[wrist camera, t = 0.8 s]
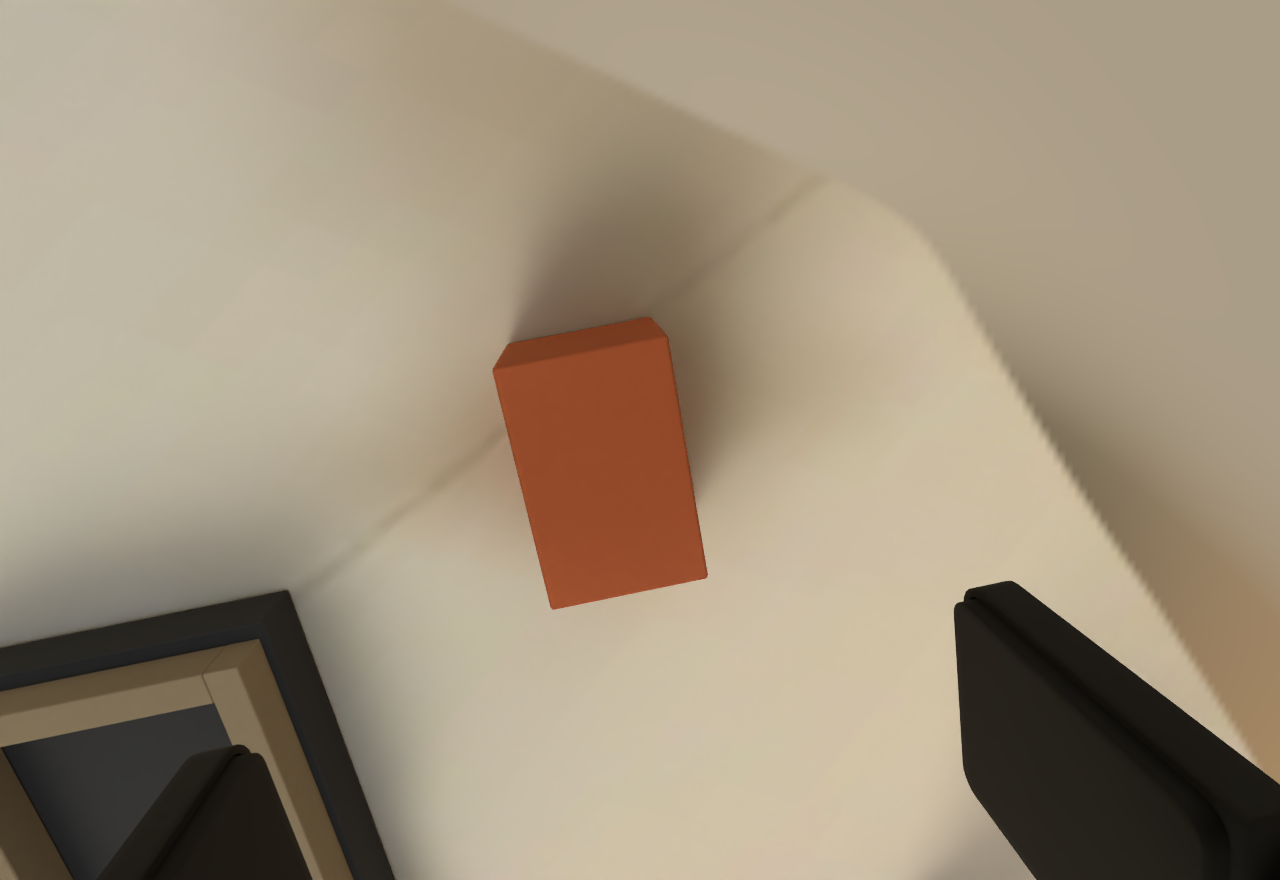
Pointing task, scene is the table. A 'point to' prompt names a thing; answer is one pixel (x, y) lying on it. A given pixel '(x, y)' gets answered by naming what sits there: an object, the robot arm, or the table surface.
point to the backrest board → (170, 736)
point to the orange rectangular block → (602, 460)
